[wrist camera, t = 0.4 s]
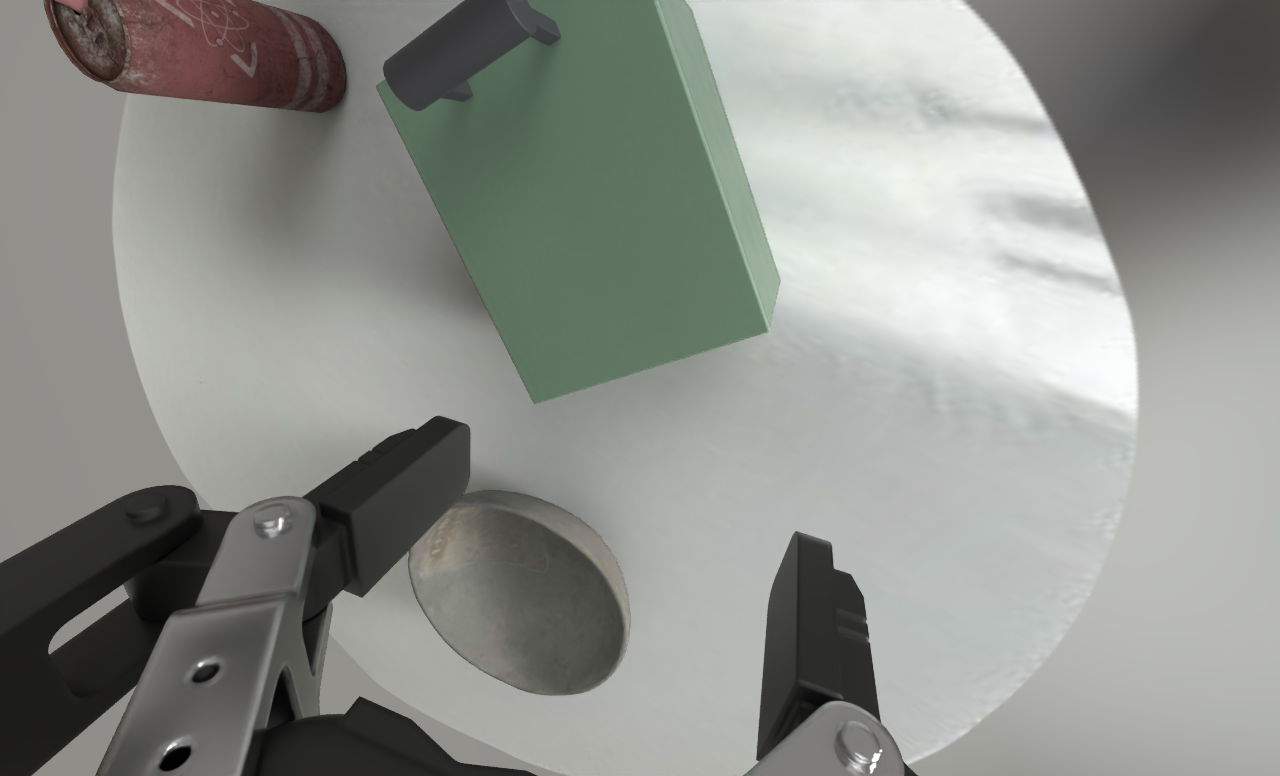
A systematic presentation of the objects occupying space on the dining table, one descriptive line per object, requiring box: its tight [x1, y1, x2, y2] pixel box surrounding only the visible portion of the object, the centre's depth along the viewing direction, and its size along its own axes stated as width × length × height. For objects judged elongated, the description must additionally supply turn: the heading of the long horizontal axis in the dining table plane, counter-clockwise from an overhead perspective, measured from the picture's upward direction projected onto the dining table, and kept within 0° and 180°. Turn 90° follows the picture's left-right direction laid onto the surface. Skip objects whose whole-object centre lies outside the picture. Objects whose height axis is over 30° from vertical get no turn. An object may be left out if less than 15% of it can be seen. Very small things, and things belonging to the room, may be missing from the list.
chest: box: [658, 0, 780, 325], centre depth 30 cm, size 17×14×11 cm
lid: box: [376, 0, 770, 404], centre depth 23 cm, size 18×14×5 cm
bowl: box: [408, 490, 631, 695], centre depth 47 cm, size 21×21×8 cm
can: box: [44, 0, 346, 113], centre depth 32 cm, size 6×6×14 cm
